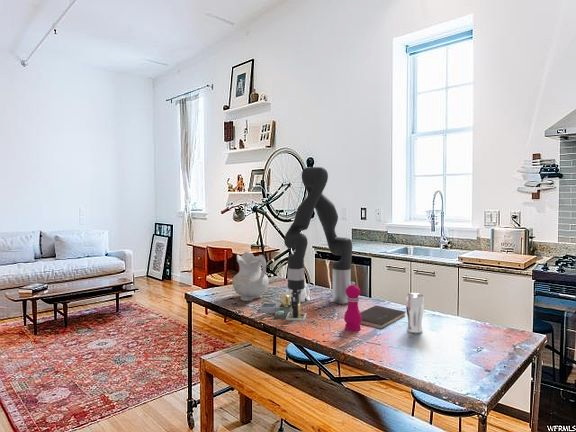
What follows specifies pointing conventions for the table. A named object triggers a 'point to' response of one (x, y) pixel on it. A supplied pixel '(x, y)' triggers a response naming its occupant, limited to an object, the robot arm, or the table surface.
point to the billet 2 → (298, 311)
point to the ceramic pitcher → (250, 277)
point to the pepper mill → (352, 308)
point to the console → (280, 315)
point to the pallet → (274, 308)
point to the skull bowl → (304, 293)
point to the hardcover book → (380, 316)
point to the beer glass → (415, 312)
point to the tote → (296, 318)
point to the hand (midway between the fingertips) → (296, 315)
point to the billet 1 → (285, 300)
